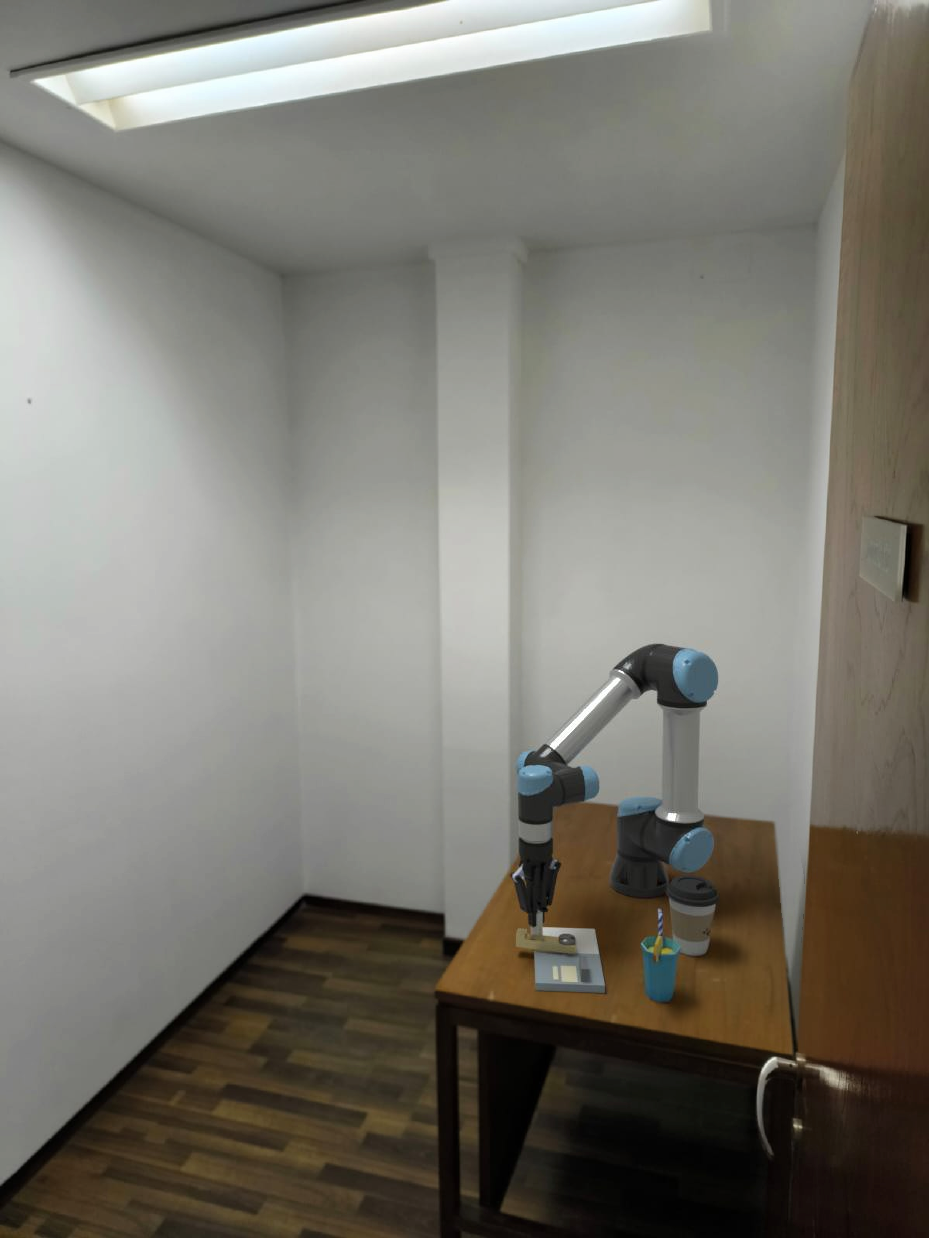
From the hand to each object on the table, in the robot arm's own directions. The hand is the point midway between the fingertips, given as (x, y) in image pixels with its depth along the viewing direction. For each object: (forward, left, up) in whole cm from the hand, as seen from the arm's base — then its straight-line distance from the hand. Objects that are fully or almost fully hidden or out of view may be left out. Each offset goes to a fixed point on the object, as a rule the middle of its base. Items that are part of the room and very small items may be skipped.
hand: (536, 938), depth 180 cm
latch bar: (-2, +3, 0) cm, 4 cm away
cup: (-24, +15, -3) cm, 29 cm away
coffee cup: (-34, -3, -3) cm, 35 cm away
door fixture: (-6, +4, -3) cm, 8 cm away
